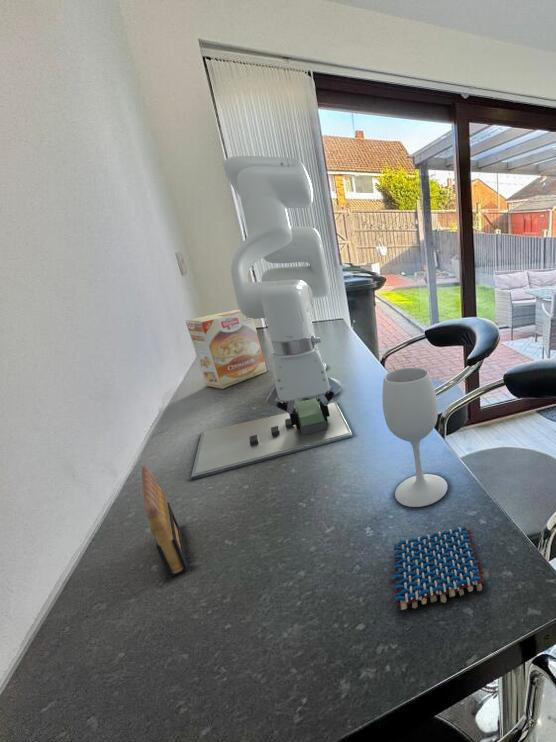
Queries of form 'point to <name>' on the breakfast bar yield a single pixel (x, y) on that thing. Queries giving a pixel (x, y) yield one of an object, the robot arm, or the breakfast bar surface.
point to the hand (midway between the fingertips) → (311, 422)
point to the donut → (325, 393)
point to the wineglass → (413, 429)
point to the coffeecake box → (226, 348)
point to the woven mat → (435, 567)
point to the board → (261, 442)
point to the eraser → (310, 416)
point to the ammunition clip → (163, 525)
